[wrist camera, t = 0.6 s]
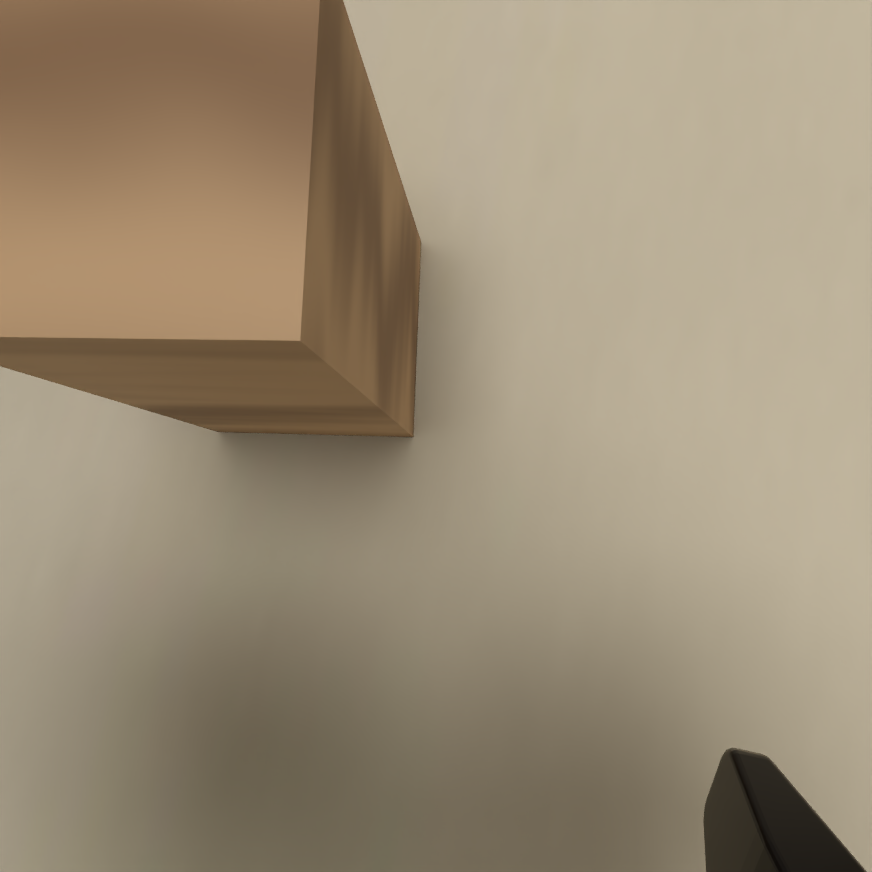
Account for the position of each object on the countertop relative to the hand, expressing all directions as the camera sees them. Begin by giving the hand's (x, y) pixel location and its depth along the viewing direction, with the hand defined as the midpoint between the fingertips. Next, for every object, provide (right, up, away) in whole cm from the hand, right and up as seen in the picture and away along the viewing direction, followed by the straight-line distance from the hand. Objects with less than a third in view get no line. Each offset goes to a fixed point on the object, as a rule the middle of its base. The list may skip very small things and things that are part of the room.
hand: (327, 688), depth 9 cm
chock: (-2, +6, +14) cm, 15 cm away
